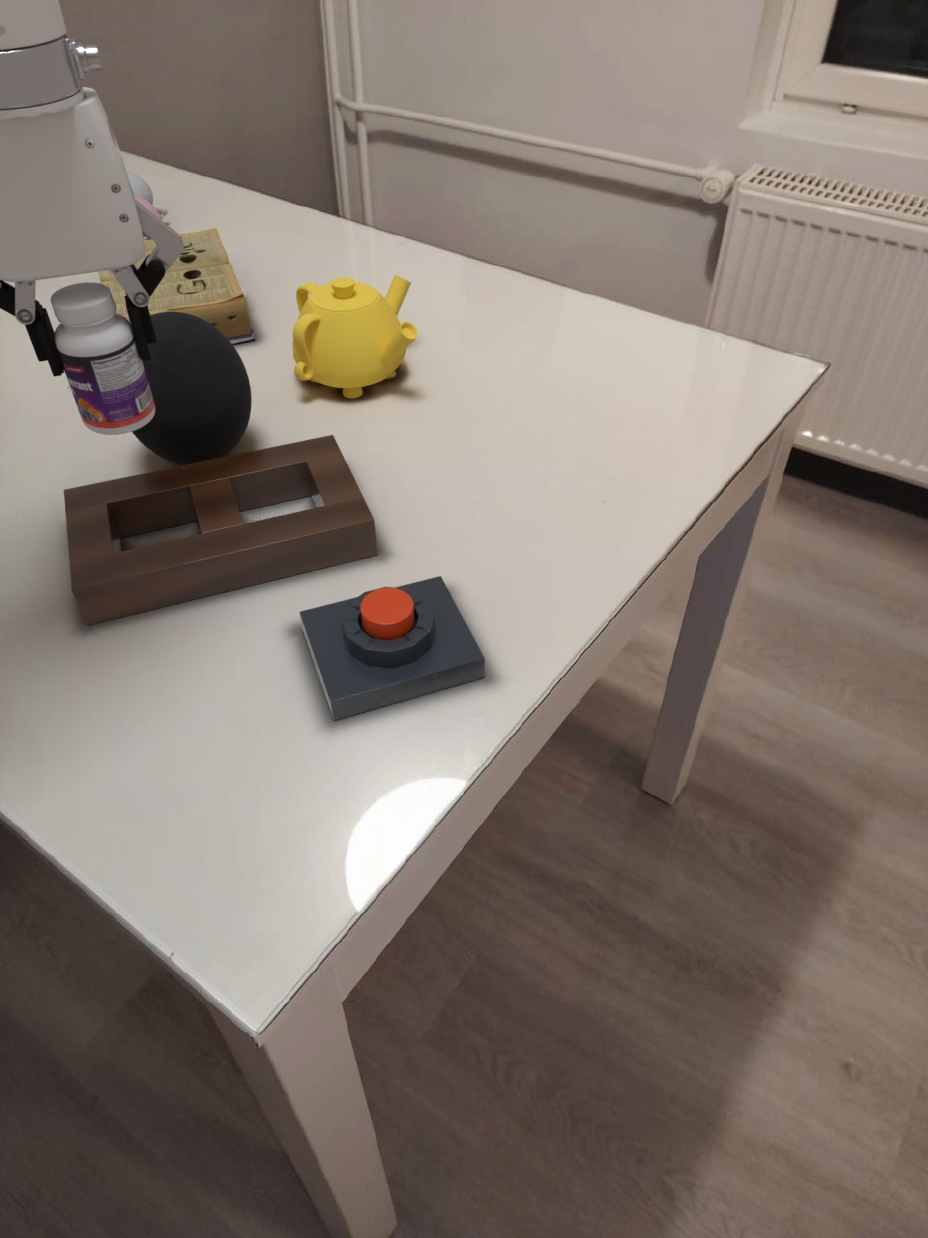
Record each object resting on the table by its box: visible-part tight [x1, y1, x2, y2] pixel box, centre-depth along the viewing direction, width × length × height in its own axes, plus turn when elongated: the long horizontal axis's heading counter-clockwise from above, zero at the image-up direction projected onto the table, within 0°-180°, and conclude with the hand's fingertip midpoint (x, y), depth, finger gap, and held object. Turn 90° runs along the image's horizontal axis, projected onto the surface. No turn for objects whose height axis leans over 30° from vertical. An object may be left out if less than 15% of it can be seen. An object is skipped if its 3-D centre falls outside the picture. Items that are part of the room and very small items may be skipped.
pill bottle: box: [50, 281, 155, 436], centre depth 63 cm, size 5×5×10 cm
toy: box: [126, 171, 168, 221], centre depth 131 cm, size 8×7×15 cm
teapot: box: [292, 274, 419, 399], centre depth 96 cm, size 14×14×11 cm
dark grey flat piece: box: [299, 575, 486, 722], centre depth 67 cm, size 12×10×4 cm
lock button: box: [360, 587, 414, 640], centre depth 66 cm, size 4×4×2 cm
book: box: [98, 228, 256, 345], centre depth 110 cm, size 25×17×6 cm
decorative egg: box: [131, 312, 253, 466], centre depth 83 cm, size 12×12×15 cm
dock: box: [63, 434, 379, 626], centre depth 78 cm, size 14×25×4 cm, turn 111°
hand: (101, 357), depth 63 cm, fingers closed on pill bottle, 5 cm apart
